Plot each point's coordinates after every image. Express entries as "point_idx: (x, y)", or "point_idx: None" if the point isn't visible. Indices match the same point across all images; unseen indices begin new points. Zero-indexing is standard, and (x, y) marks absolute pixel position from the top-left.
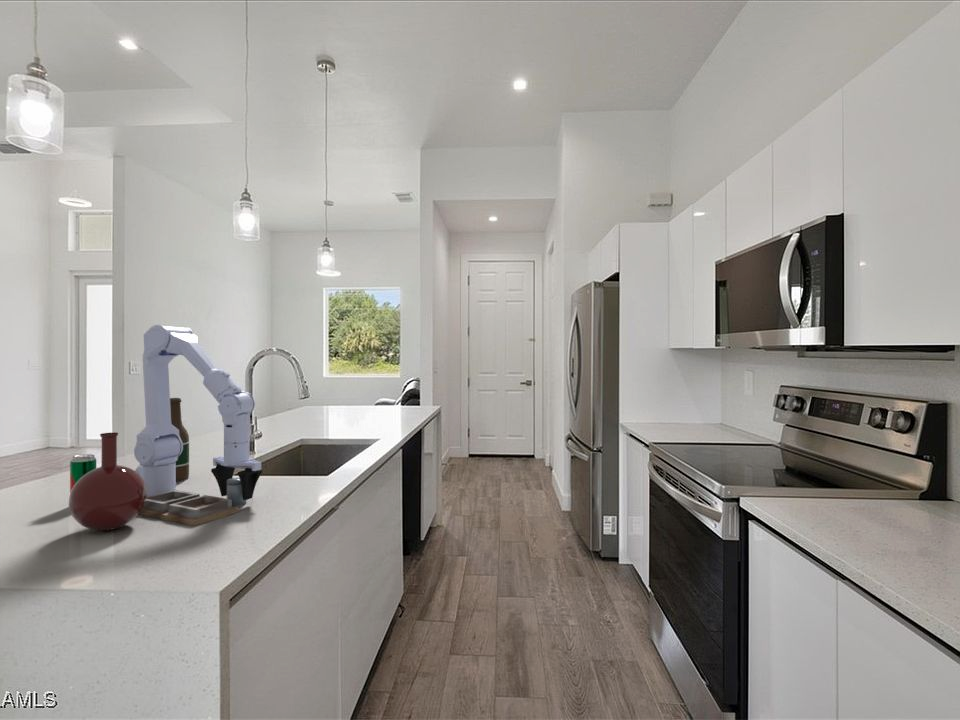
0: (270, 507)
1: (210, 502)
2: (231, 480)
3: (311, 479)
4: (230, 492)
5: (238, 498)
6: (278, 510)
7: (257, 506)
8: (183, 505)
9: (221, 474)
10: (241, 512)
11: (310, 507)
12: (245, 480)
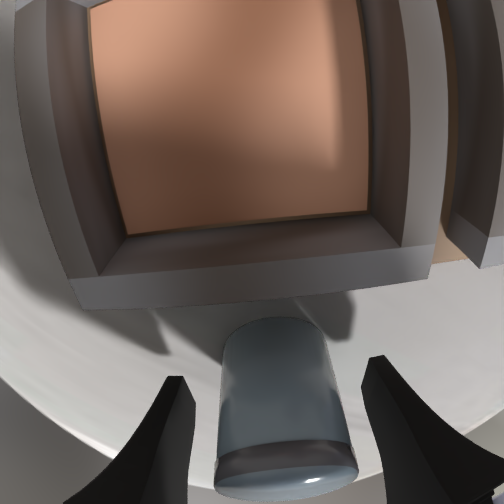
0: (89, 373)
1: (302, 234)
2: (295, 479)
3: None
4: (265, 393)
5: (223, 376)
6: (37, 356)
7: (139, 367)
8: (386, 19)
9: (421, 483)
10: None
11: (30, 395)
12: (92, 481)
